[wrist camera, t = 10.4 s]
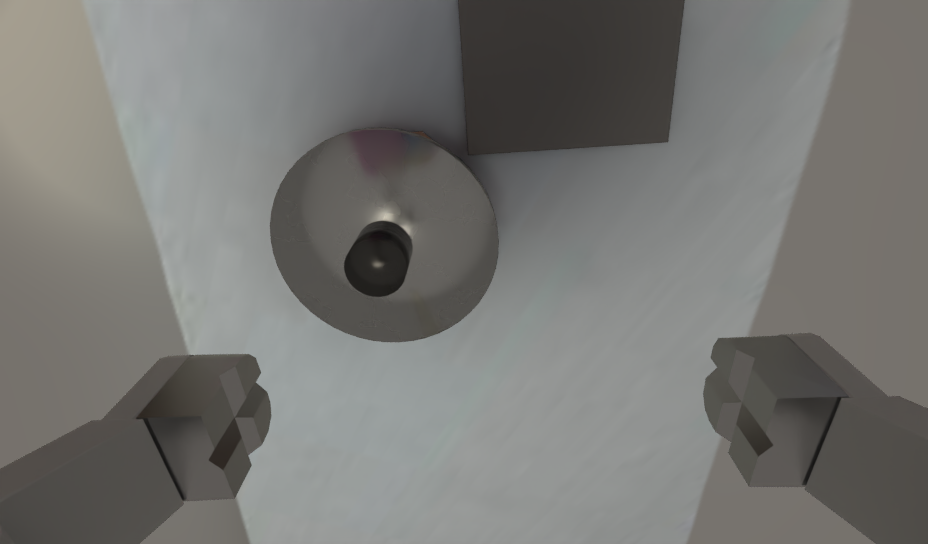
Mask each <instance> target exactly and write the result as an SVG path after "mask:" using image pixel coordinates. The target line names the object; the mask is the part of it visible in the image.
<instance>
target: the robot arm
mask: <svg viewBox="0 0 928 544" xmlns="http://www.w3.org/2000/svg"><path fill="white" fill-rule="evenodd" d="M711 359H712V360H713V362H714V363H715V365H716V366H717V368H716V369H715V370H714V371H713V372H712V373H711V374H710V375H709V376H707V377H706V380H705V386H704V391H703V397H704V406H705V411H706V413H707V416H708V419H709V421H710V423H711V425H712V427H713V428H714V430H715V432H716V433H718V434H720V435H721V436H723V437H724V438H726V439H727V440H729V441H730V442H731V445H730V448H729V452H728V453H729V455H730V457H731V458H732V460H733V462H734V463H735V465H736V466H737V468H738V470H739V471H740V473H741V475H742V476H743V478H744V479H745V481H746V483H747V484H748V486H749V487H805V490H806V491H807V492H808V493H810V494H811V495H812V496H814V497H815V498H816V499H818V500H819V501H820V502H822V503H823V504H824V505H826V506H827V507H828V508H830V509H831V510H832V511H833V512H835V513H836V514H837V515H839V516H840V517H841V518H843V519H844V520H845V521H847V522H848V523H849V524H851V525H852V526H853V527H855V528H856V529H857V530H858V531H860V532H861V533H862V534H864V535H865V536H866V537H868V538H869V539H870V540H872V541H873V542H874V543H876V544H928V408H925V407H923V406H921V405H918V404H916V403H914V402H911V401H909V400H907V399H904V398H902V397H900V396H891V397H890V396H889V397H888V396H887V395H886V394H885V393H884V392H883V391H882V390H880V389H879V388H878V387H877V386H876V385H875V384H873V383H872V382H871V381H870V380H869V379H868V378H867V377H866V376H865V375H863V374H862V373H861V372H860V371H859V370H858V369H856V368H855V367H854V366H853V365H852V364H851V363H850V362H849V361H847V360H846V359H845V358H844V357H843V356H842V355H841V354H839V353H838V352H837V351H836V350H835V349H834V348H833V347H831V346H830V345H829V344H828V343H827V342H826V341H825V340H824V339H822V338H821V337H820V336H817V335H815V334H812V333H798V334H781V335H778V336H757V337H733V338H718V340H717V341H716V343H715V344H714V346H713V350H712V354H711ZM260 374H261V371H260V368H259V366H258V363H257V360H256V358H255V357H253V356H251V355H250V354H213V355H174V356H167V357H163V358H161V359H159V360H158V361H157V362H156V363H155V364H154V365H153V367H151V369H150V370H149V371H148V372H147V373H146V374H145V375H144V376H143V377H142V378H141V379H140V380H139V381H138V382H137V383H136V384H135V385H134V386H133V387H132V389H130V391H129V392H128V393H127V394H126V395H125V396H124V397H123V398H122V399H121V400H120V401H119V402H118V403H117V404H116V405H115V406H114V407H113V408H112V409H111V410H110V411H109V412H108V414H107V415H106V416H105V417H104V418H103V419H102V420H94V421H90V422H88V423H86V424H84V425H82V426H81V427H79V428H77V429H75V430H73V431H71V432H69V433H67V434H65V435H64V436H62V437H60V438H58V439H56V440H54V441H52V442H50V443H48V444H46V445H44V446H42V447H41V448H39V449H37V450H35V451H33V452H31V453H29V454H27V455H25V456H23V457H22V458H20V459H18V460H16V461H14V462H12V463H10V464H8V465H7V466H4V467H3V468H1V469H0V544H140V543H141V542H142V541H143V540H144V539H145V538H146V537H147V536H148V535H150V534H151V533H152V532H153V531H154V530H155V529H156V528H158V527H159V526H160V525H161V524H162V523H163V522H164V521H166V520H167V519H168V518H169V517H170V516H171V515H172V514H173V513H174V512H175V511H177V510H178V509H179V508H180V507H181V506H182V505H183V504H184V502H183V501H199V500H219V499H235V497H236V495H237V493H238V491H239V489H240V487H241V485H242V483H243V481H244V479H245V477H246V475H247V473H248V472H249V470H250V468H251V466H252V465H251V462H250V459H249V456H248V455H249V454H250V453H252V452H253V451H254V450H256V449H257V448H258V447H260V446H261V445H262V444H263V442H264V439H265V437H266V435H267V433H268V431H269V425H270V420H271V405H270V400H269V396H268V393H267V391H265V390H264V389H263V388H262V387H261V386H259V385H258V384H257V383H256V381H257V379H258V377H259V376H260Z"/></svg>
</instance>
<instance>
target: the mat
mask: <svg viewBox="0 0 928 544" xmlns="http://www.w3.org/2000/svg"><path fill="white" fill-rule="evenodd" d="M458 4H459V19H460V35H461V50H462V66H463V82H464V97H465V113H466V128H467V144H468V155H479V154H494V153H510V152H525V151H540V150H556V149H571V148H586V147H601V146H617V145H632V144H647V143H662V142H668V138H669V130H670V121H671V112H672V104H673V95H674V86H675V78H676V69H677V61H678V52H679V43H680V35H681V26H682V17H683V9H684V0H458Z"/></svg>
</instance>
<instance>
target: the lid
mask: <svg viewBox="0 0 928 544" xmlns="http://www.w3.org/2000/svg"><path fill="white" fill-rule="evenodd" d="M270 233H271V243H272V248H273V254H274V257H275V260H276V263H277V266H278V268H279V270H280V272H281V274H282V276H283V278H284V280H285V282H286V283H287V285H288V286H289V288H290V289H291V291H292V292H293V293H294V295H295V296H296V297H297V298H298V299H299V301H300V302H301V303H302V304H303V305H304V306H305V307H306V308H307V309H309V310H310V311H311V312H312V313H313V314H315V315H316V316H317V317H318V318H320V319H321V320H323V321H324V322H326V323H328V324H329V325H331V326H332V327H334V328H336V329H339V330H341V331H343V332H345V333H348V334H350V335H353V336H356V337H359V338H364V339H368V340H373V341H381V342H405V341H414V340H418V339H423V338H427V337H429V336H432V335H435V334H438V333H440V332H442V331H444V330H446V329H448V328H450V327H452V326H453V325H455V324H456V323H458V322H459V321H461V320H462V319H463V318H464V317H465V316H467V315H468V314H469V313H470V312H471V311H472V310H473V309H474V308H475V306H476V305H477V304H478V303H479V302H480V300H481V299H482V297H483V296H484V294H485V293H486V291H487V289H488V287H489V285H490V283H491V281H492V278H493V275H494V272H495V269H496V264H497V258H498V244H499V240H498V231H497V222H496V218H495V214H494V210H493V207H492V205H491V202H490V200H489V197H488V195H487V193H486V191H485V189H484V188H483V186H482V184H481V182H480V181H479V180H478V178H477V177H476V176H475V174H474V173H473V172H472V170H471V169H470V168H469V167H468V166H467V165H466V164H465V163H464V162H463V161H462V160H461V159H460V158H459V157H457V156H456V155H455V154H453V153H452V152H451V151H449V150H448V149H447V148H445V147H443V146H442V145H440V144H438V143H436V142H435V141H433V140H431V139H428V138H426V137H423V136H421V135H419V134H415V133H412V132H408V131H404V130H399V129H392V128H365V129H358V130H352V131H349V132H345V133H342V134H339V135H337V136H334V137H332V138H330V139H328V140H325V141H324V142H322V143H321V144H319V145H318V146H316V147H315V148H313V149H311V150H310V151H308V152H307V153H306V154H305V155H304V156H303V157H302V158H300V159H299V160H298V161H297V162H296V163H295V165H294V166H293V167H292V168H291V169H290V170H289V172H288V173H287V175H286V176H285V178H284V180H283V181H282V183H281V184H280V187H279V189H278V192H277V194H276V196H275V199H274V203H273V207H272V211H271V222H270Z"/></svg>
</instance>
